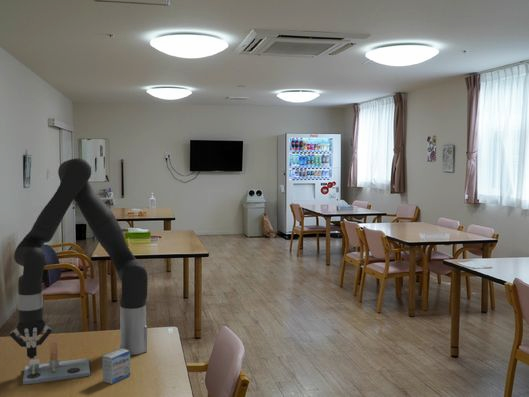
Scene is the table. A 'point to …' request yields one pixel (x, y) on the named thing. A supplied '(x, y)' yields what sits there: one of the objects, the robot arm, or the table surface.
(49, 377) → the bolt plate
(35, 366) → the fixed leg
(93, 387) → the table surface
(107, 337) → the table surface
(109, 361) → the medicine box
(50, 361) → the sliding leg
